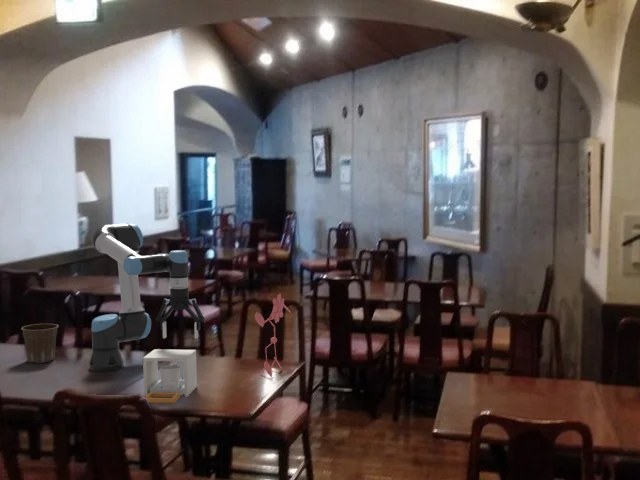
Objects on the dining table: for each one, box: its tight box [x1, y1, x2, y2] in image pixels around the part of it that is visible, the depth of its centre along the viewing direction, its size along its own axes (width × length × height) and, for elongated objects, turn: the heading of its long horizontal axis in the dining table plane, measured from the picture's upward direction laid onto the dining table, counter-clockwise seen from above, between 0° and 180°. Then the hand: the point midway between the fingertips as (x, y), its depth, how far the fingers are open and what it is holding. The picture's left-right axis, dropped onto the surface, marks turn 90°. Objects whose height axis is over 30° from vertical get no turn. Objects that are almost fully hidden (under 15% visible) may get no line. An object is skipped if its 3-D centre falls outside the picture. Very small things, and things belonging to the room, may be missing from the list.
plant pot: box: [20, 323, 60, 364], centre depth 334 cm, size 16×16×16 cm
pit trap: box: [144, 392, 181, 405], centre depth 272 cm, size 8×12×2 cm, turn 85°
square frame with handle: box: [150, 361, 185, 396], centre depth 289 cm, size 24×13×9 cm, turn 175°
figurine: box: [252, 293, 296, 379], centre depth 306 cm, size 15×26×35 cm, turn 158°
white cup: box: [159, 363, 181, 388], centre depth 284 cm, size 8×8×10 cm
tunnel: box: [142, 348, 198, 398], centre depth 283 cm, size 14×17×15 cm
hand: (180, 337), depth 297 cm, fingers open, 13 cm apart
